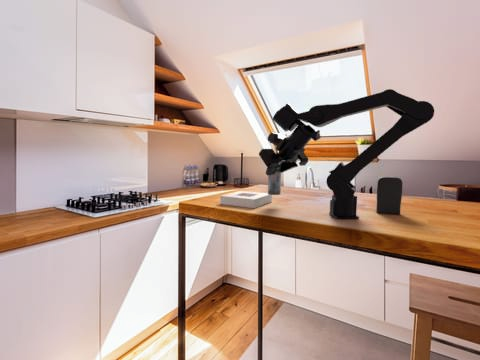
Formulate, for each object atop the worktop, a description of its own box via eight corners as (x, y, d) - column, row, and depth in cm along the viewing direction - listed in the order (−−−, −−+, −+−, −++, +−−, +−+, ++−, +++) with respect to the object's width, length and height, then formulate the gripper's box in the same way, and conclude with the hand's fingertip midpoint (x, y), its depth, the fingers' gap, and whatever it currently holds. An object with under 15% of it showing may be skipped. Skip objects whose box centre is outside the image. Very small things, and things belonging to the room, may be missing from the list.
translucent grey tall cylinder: (279, 192, 97) (279, 161, 96) (281, 194, 93) (282, 162, 91) (266, 192, 97) (267, 161, 95) (268, 194, 92) (269, 162, 91)
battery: (399, 212, 86) (401, 176, 85) (401, 215, 83) (403, 177, 81) (374, 210, 89) (376, 175, 87) (375, 213, 85) (377, 176, 84)
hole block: (271, 201, 104) (271, 193, 104) (254, 208, 92) (254, 199, 92) (240, 198, 111) (240, 190, 111) (220, 203, 99) (220, 195, 99)
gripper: (302, 125, 95) (278, 156, 105) (263, 122, 83) (240, 157, 93) (320, 148, 90) (293, 179, 99) (281, 148, 78) (255, 182, 88)
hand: (271, 174), depth 95 cm, fingers closed on translucent grey tall cylinder, 4 cm apart
